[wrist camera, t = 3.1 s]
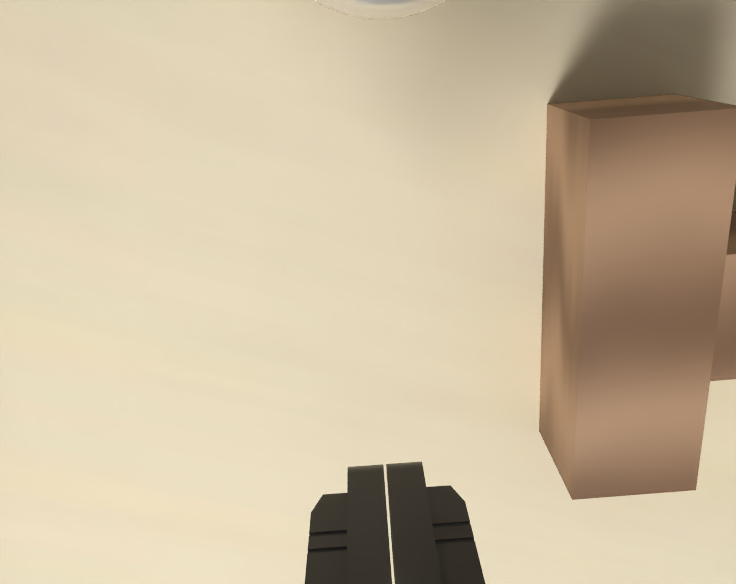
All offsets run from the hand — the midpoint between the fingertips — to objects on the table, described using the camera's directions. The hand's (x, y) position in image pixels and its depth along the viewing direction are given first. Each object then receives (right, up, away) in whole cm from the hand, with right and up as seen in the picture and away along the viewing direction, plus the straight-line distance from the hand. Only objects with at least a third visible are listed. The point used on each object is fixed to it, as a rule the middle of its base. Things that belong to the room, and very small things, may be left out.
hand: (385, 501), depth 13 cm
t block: (+12, +5, +10) cm, 16 cm away
